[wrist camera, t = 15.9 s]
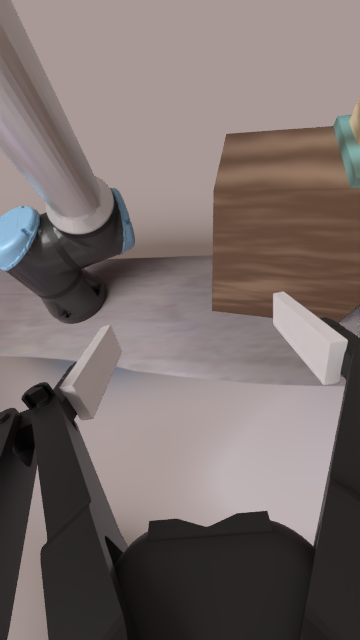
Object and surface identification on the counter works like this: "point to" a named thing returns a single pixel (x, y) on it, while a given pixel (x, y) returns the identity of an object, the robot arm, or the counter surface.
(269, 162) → the walnut shelf
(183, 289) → the counter surface
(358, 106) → the oak bar
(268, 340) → the counter surface
